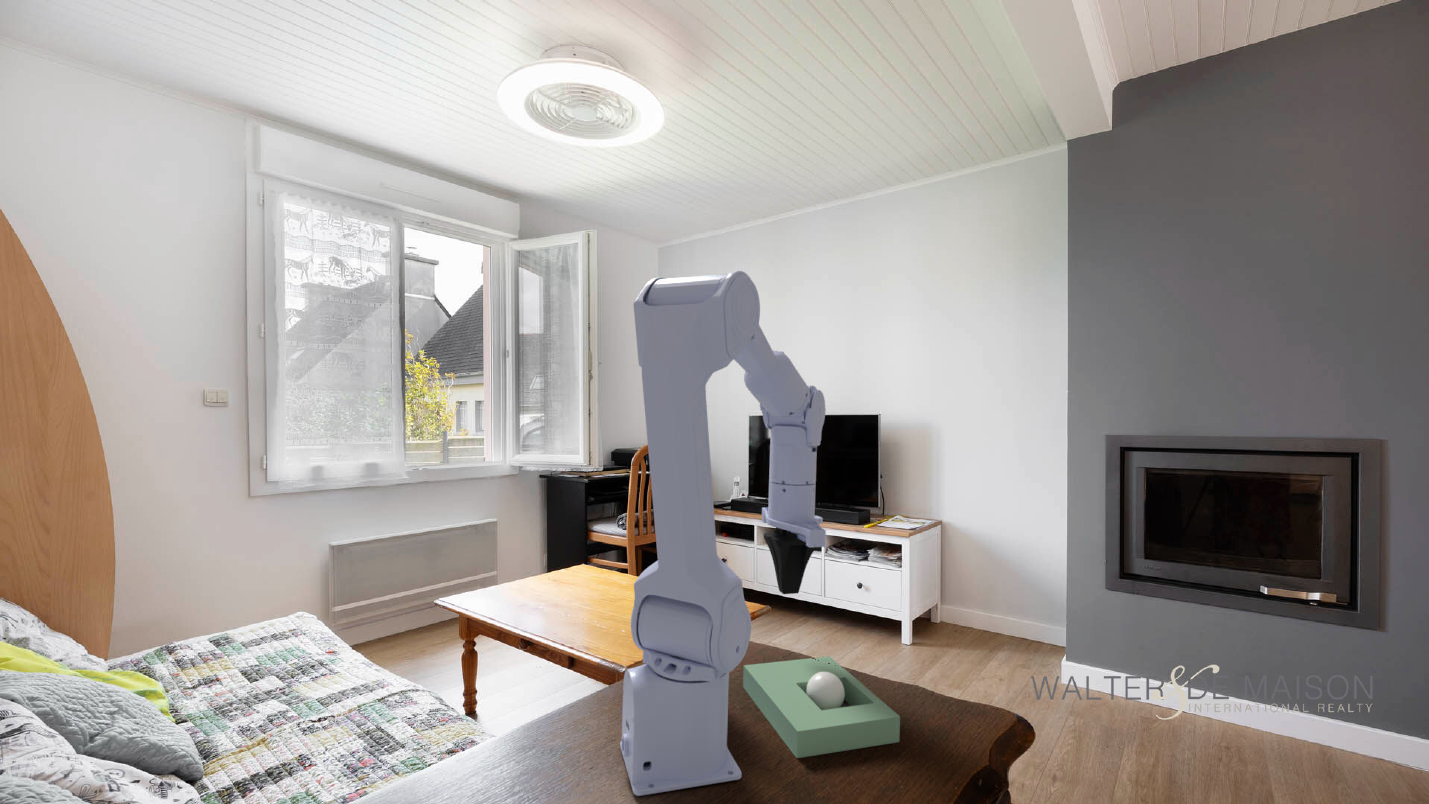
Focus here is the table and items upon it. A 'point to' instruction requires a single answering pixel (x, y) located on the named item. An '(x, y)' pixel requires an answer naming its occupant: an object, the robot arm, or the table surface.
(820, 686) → the ball
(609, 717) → the table surface
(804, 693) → the green
